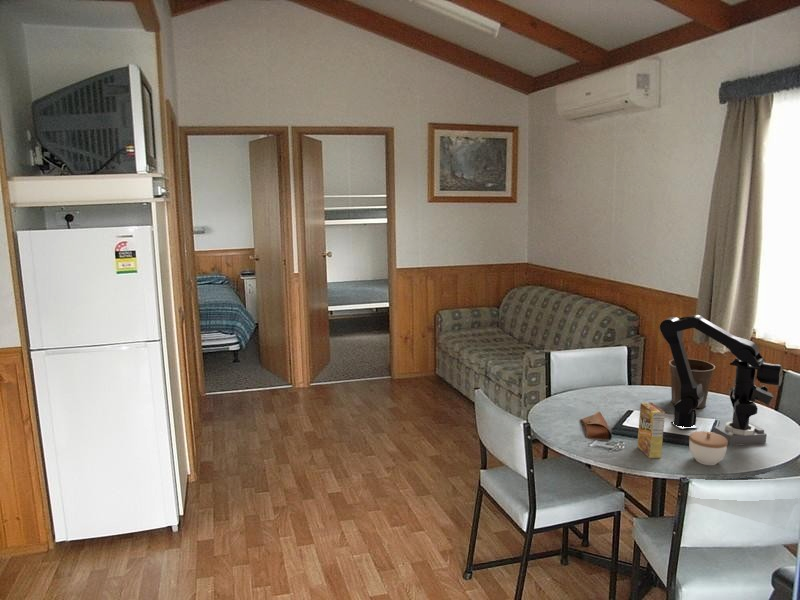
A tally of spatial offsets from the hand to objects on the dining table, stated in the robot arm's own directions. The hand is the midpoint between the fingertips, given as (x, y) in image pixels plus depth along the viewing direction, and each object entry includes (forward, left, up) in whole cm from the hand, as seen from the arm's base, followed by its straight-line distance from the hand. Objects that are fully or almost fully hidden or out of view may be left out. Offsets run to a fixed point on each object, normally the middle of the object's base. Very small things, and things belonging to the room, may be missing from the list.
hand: (740, 424), depth 215 cm
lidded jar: (-21, -14, -5) cm, 26 cm away
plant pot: (+4, +33, -5) cm, 34 cm away
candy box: (-35, -5, -5) cm, 36 cm away
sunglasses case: (-44, +17, -6) cm, 47 cm away
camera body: (0, 0, -5) cm, 5 cm away
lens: (0, 0, -2) cm, 2 cm away
